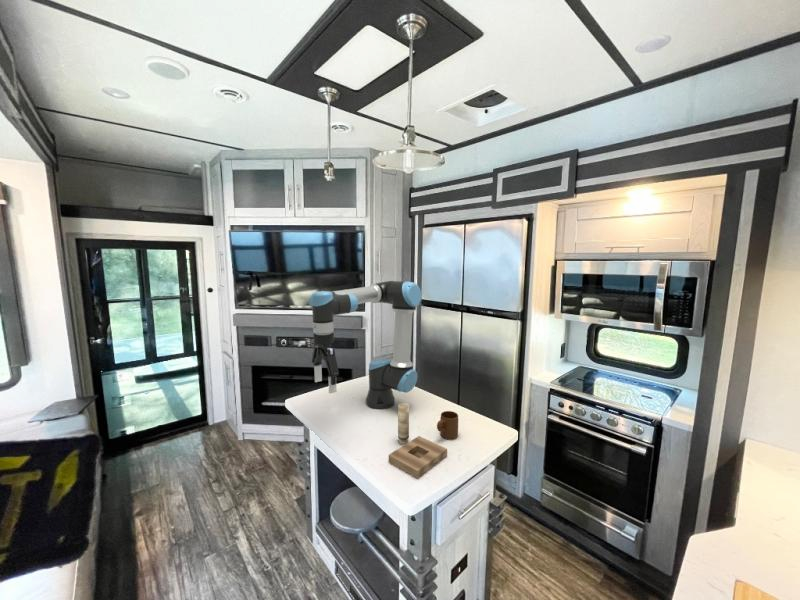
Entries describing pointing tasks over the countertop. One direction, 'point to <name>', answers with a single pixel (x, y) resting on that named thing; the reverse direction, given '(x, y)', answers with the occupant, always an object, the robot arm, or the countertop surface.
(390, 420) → the countertop surface
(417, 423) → the countertop surface
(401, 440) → the leg
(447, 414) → the mug
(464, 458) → the countertop surface
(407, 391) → the robot arm
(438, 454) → the board
